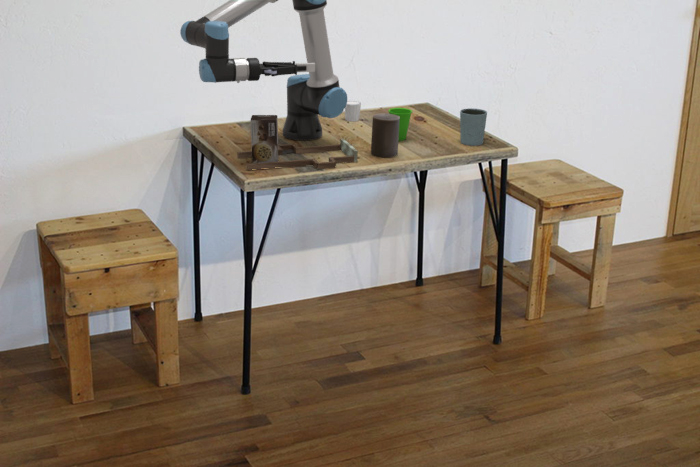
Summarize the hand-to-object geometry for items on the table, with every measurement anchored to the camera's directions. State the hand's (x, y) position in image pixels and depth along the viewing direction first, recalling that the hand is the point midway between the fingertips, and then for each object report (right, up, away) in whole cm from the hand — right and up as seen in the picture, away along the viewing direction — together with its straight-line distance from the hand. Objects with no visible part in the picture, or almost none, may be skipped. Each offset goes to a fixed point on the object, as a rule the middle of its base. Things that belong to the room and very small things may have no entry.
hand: (314, 67), depth 310 cm
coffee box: (-17, -32, +6) cm, 37 cm away
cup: (+31, -21, +36) cm, 52 cm away
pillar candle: (+25, -28, +19) cm, 42 cm away
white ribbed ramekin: (+13, -10, +61) cm, 63 cm away
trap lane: (-7, -31, +9) cm, 33 cm away
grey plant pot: (+58, -22, +35) cm, 71 cm away
